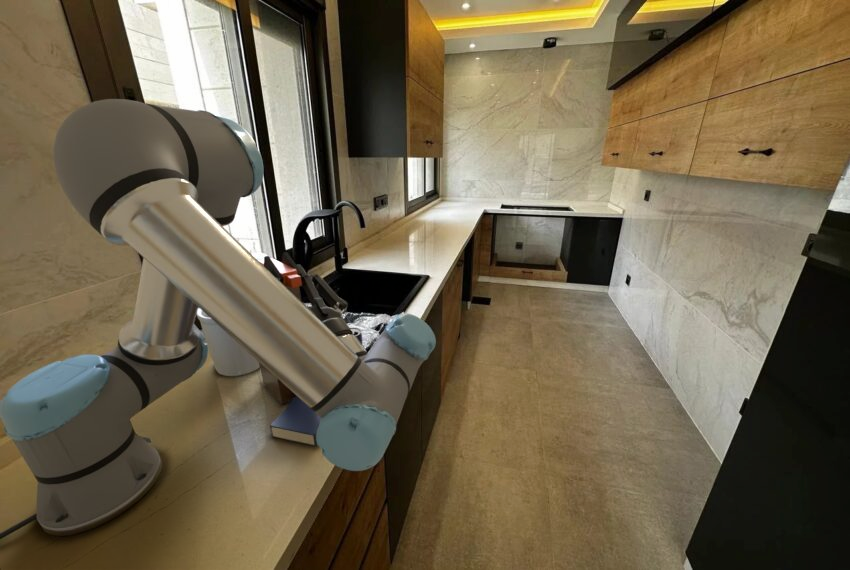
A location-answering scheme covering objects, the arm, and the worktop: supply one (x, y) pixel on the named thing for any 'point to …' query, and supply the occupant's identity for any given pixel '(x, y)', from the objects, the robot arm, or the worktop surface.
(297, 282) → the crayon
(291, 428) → the book
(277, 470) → the worktop surface
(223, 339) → the utensil holder
